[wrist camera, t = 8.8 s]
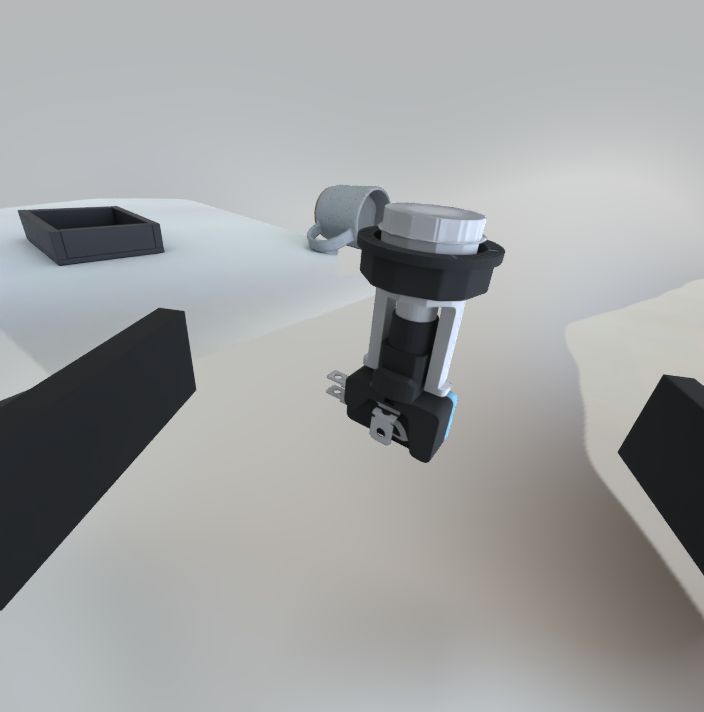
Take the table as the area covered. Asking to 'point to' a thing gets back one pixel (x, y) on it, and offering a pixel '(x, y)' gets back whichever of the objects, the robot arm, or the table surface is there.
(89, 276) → the table surface
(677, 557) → the table surface
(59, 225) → the tray
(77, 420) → the robot arm
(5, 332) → the table surface
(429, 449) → the push button
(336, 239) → the ceramic mug
